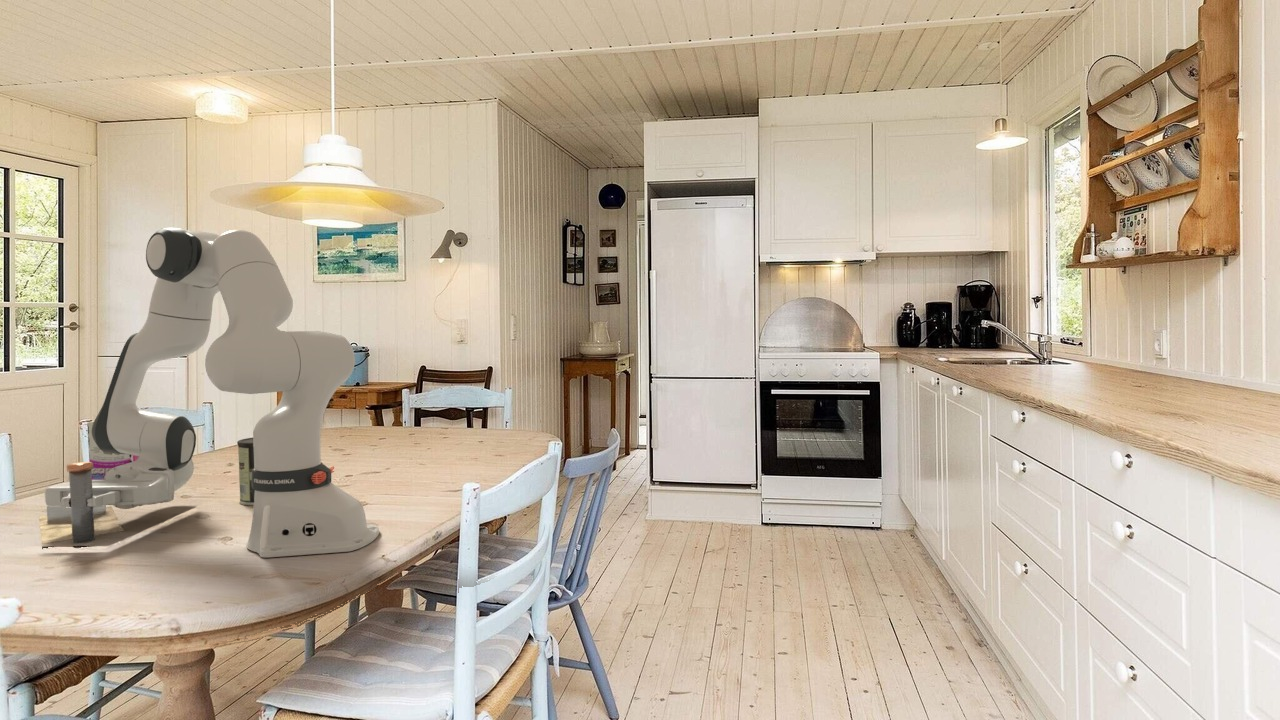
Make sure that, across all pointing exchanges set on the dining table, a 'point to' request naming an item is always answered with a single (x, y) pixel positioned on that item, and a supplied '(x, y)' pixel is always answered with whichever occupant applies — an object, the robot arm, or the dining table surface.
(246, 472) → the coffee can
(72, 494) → the pin
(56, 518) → the shallow grey tray
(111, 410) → the robot arm
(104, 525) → the tan wooden board
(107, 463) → the candy bar box
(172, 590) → the dining table surface
